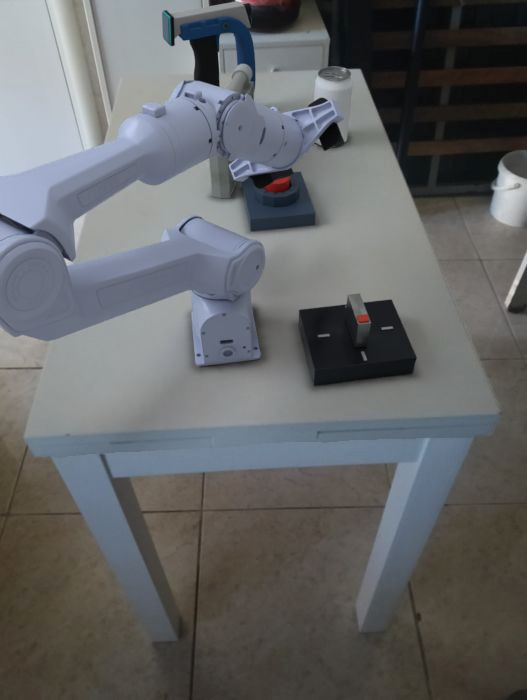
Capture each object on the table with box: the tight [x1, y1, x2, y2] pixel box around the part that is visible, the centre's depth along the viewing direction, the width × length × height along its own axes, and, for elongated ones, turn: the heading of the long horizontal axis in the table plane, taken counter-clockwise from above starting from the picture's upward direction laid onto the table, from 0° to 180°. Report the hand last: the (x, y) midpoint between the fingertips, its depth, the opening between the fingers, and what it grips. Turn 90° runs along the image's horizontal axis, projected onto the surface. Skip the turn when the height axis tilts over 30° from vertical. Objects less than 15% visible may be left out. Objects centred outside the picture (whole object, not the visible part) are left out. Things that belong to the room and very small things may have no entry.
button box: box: [240, 171, 316, 232], centre depth 90 cm, size 12×10×4 cm
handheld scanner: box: [161, 0, 256, 91], centre depth 105 cm, size 5×16×20 cm, turn 115°
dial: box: [345, 292, 371, 348], centre depth 67 cm, size 5×2×4 cm, turn 8°
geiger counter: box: [208, 64, 255, 199], centre depth 96 cm, size 14×6×25 cm
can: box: [313, 65, 353, 149], centre depth 101 cm, size 6×6×12 cm
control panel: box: [297, 299, 417, 387], centre depth 70 cm, size 12×10×3 cm
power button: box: [264, 176, 290, 193], centre depth 88 cm, size 4×4×2 cm
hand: (313, 153), depth 73 cm, fingers open, 7 cm apart
